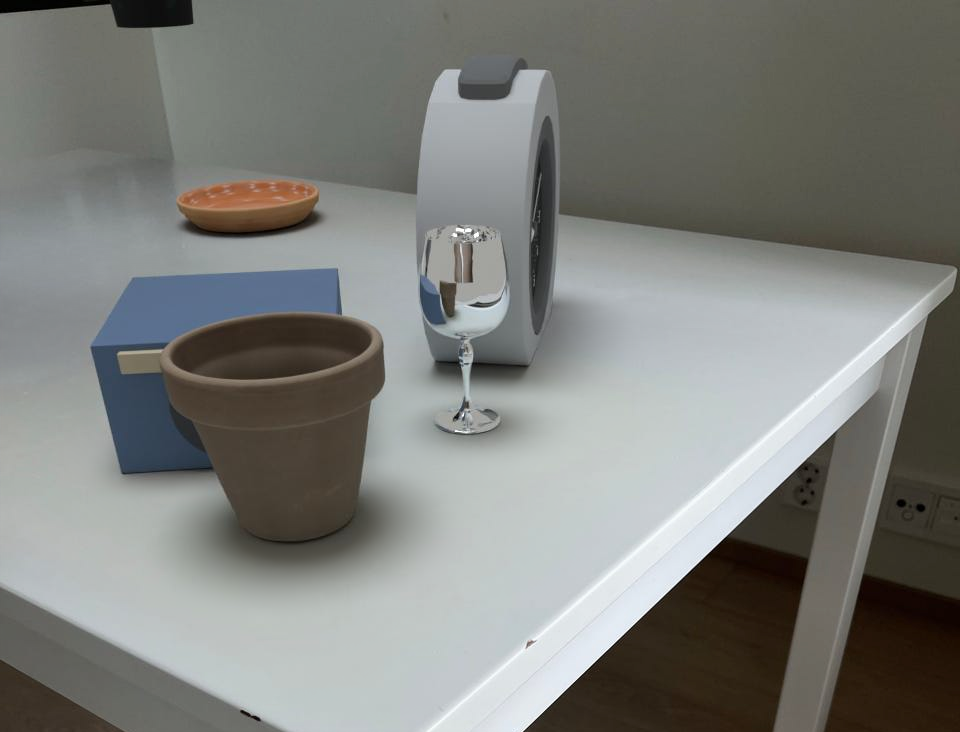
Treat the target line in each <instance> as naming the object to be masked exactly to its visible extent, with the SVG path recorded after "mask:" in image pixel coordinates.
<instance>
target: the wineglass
mask: <svg viewBox="0 0 960 732" xmlns="http://www.w3.org/2000/svg"><path fill="white" fill-rule="evenodd" d="M417 295H418V303H419V307H420V311H421V315H422V314H423V316H424V318H425V320H426V322H427V323H428V324H429V325H430V326H431V328H432V329H434V330H435V331H437V332H438V333H440V334H442V335H444V336H446V337H449V338H452V339H456V340H461V345H460V346H459V353H458V356H459V362H458V363H459V364H460V367H461V368H460V369H461V372H462V385H463V387H462V389H463V391H462V392H463V393H462V395H463V397H462V402H461V405H459V406H455V407H451V408H447V409H444V410H442V411H441V412H439V413H438V414H436V416H435V418H434V424H435V426H436V427H437V428H439V429H440V430H442V431H444V432H449V433H452V434H458V435H472V434H473V435H474V434H480V433H485V432H488V431H491V430H493V429H495V428H497V427H498V426H499V425H500V423H501V416H500V414H499V413H498V412H496V411H494V410H492V409H490V408H487V407H483V406H476V405H474V403H473V401H472V396H471V372H472V364H473V363H472V362H473V355H474V354H473V348H472V346H471V344H470V340H472V339H477V338H480V337H482V336H485V335H487V334H489V333H491V332H492V331H494V330H495V329H496V328H497V327H498V326H499V325H500V324H501V323H502V321H503V320H504V318H505V316H506V314H507V311H508V308H509V301H510V276H509V268H508V262H507V257H506V253H505V248H504V244H503V240H502V236H501V232H500V231H499V230H497V229H495V228H492V227H487V226H481V225H451V226H444V227H438V228H435V229H432V230H429V231H427V232H426V233H425V236H424V241H423V247H422V252H421V258H420V265H419V275H418V274H417Z"/></svg>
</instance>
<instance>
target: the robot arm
mask: <svg viewBox="0 0 960 732" xmlns="http://www.w3.org/2000/svg"><path fill="white" fill-rule="evenodd" d="M97 1H98V0H83V1H82V2H97Z"/></svg>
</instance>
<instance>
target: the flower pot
mask: <svg viewBox="0 0 960 732" xmlns="http://www.w3.org/2000/svg"><path fill="white" fill-rule="evenodd" d="M384 348H385V345H384V339H383V336H382V333H381V332H380V330H378V329H377V328H376V327H375V326H373V325H372V324H371V323H369V322H366V321H364V320H362V319H359V318H355V317H352V316H347V315H343V314H342V315H337V314H330V313H320V312H277V313H264V314H257V315H249V316H243V317H237V318H232V319H227V320H223V321H219V322H215V323H212V324H208V325H205V326H202V327H199V328H196V329H194V330H192V331H189V332H187V333H185V334H183V335H181V336H179V337H177V338H176V339H174V340H173V341H171V342H170V343H169V344H168V345H167V346H166V347H165V348H164V349H163V350H162V352H161V354H160V358H159V364H160V369H161V371H162V373H163V378H164V382H165V386H166V390H167V393H168V397H169V400H170V403H171V405H172V406H173V407H174V409H175V410H176V411H178V412H179V413H180V414H181V415H183V416H184V417H186V418H188V419H190V420H192V422H193V424H194V426H195V428H196V430H197V432H198V434H199V436H200V438H201V440H202V443H203V445H204V447H205V449H206V452H207V454H208V456H209V459H210V461H211V463H212V465H213V468H212V469H213V470H214V472H215V475H216V476H217V479H218V482H219V484H220V486H221V488H222V490H223V492H224V494H225V496H226V498H227V500H228V502H229V504H230V507H231V508H232V510H233V512H234V514H235V516H236V517H237V519H238V521H239V523H240V525H241V526H242V528H243V529H245V531H246V532H248V533H249V534H251V535H253V536H255V537H258V538H261V539H264V540H267V541H268V540H269V541H274V542H302V541H308V540H313V539H317V538H321V537H324V536H327V535H330V534H332V533H334V532H336V531H338V530H340V529H341V528H343V527H344V526H345V525H347V523H349V522H350V521H351V519H352V518H353V517H354V514H355V513H356V508H357V504H358V499H359V494H360V487H361V483H362V482H361V481H362V476H363V471H364V470H363V469H364V462H365V453H366V446H367V445H366V444H367V437H368V436H367V435H368V427H369V419H370V411H371V405H372V401H373V400H374V399H375V398H376V397H377V396H378V395H379V394H380V393H381V391H382V389H383V388H384V385H385V382H386V366H385V365H386V364H385V353H384Z"/></svg>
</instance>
